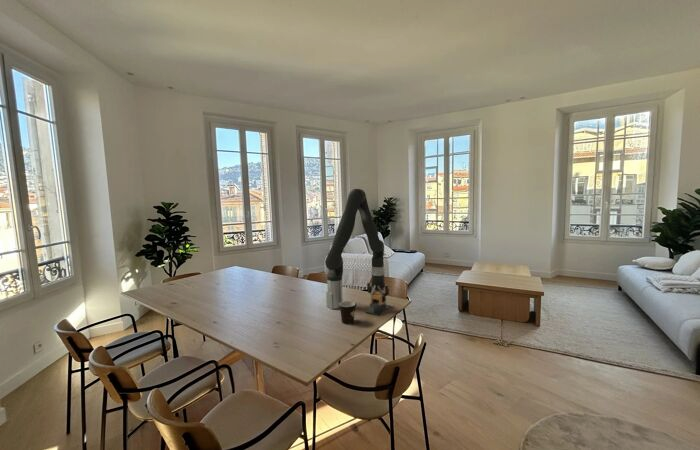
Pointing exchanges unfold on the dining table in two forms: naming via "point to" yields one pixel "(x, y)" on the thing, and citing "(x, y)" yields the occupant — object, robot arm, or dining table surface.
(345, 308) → the coffee mug
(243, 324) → the dining table surface
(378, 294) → the block
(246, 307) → the dining table surface
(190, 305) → the dining table surface
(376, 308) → the rail
